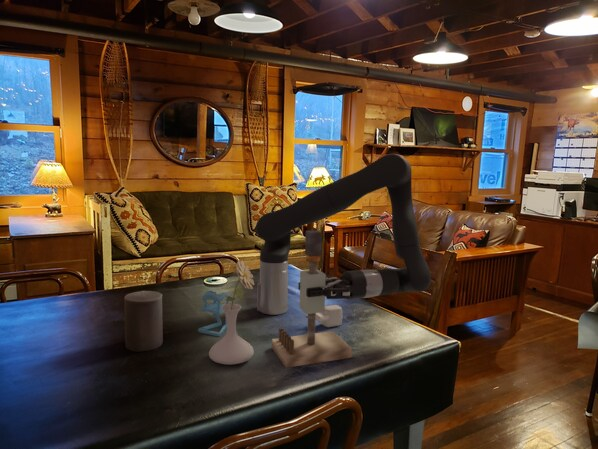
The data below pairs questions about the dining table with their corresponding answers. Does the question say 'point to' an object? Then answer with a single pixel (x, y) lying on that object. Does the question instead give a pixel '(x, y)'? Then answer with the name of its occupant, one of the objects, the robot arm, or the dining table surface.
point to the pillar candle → (143, 321)
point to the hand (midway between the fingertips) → (303, 289)
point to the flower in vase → (234, 326)
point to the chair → (214, 312)
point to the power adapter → (330, 316)
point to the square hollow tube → (311, 281)
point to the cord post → (310, 326)
